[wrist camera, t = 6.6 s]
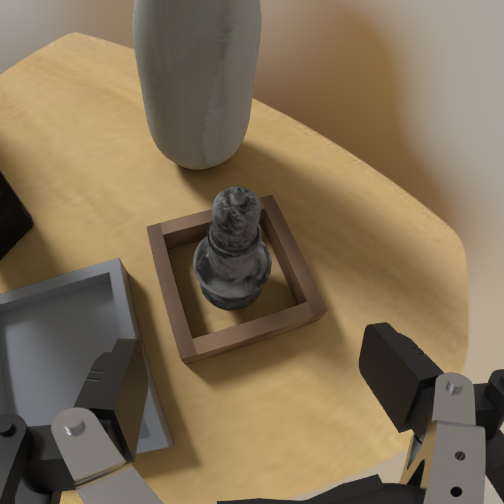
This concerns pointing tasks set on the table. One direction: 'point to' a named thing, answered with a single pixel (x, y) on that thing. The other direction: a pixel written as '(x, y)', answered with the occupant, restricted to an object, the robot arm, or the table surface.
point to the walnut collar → (249, 332)
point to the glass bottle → (197, 75)
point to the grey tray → (69, 345)
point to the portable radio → (11, 217)
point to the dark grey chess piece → (233, 251)
